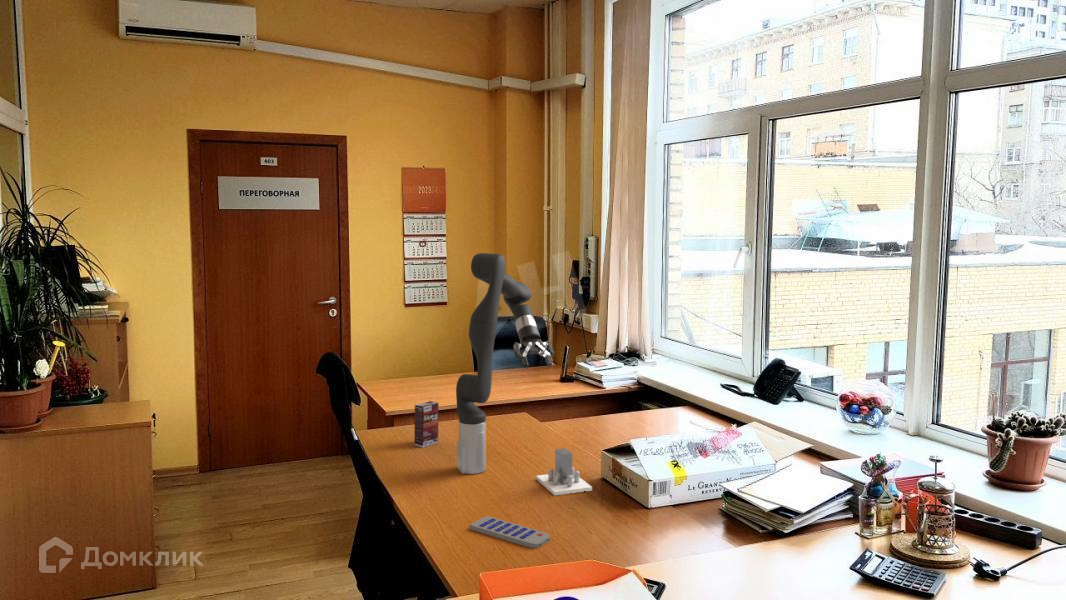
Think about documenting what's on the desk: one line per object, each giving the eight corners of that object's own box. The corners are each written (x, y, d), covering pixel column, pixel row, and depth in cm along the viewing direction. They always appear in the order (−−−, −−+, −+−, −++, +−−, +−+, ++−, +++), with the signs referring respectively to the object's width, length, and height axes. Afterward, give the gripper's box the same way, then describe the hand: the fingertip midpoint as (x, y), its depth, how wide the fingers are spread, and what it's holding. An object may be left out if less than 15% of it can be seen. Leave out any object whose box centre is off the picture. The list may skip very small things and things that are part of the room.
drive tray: (554, 495, 245) (554, 481, 244) (536, 479, 259) (536, 465, 259) (592, 490, 249) (592, 476, 249) (571, 474, 264) (572, 461, 263)
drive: (562, 485, 251) (562, 454, 250) (554, 478, 256) (555, 449, 255) (572, 483, 252) (572, 453, 251) (564, 477, 258) (565, 448, 257)
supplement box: (423, 448, 292) (422, 406, 290) (414, 445, 295) (413, 404, 293) (439, 442, 299) (439, 402, 297) (430, 440, 302) (430, 400, 300)
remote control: (486, 522, 225) (486, 514, 225) (552, 540, 212) (552, 533, 212) (469, 531, 218) (469, 523, 218) (535, 550, 206) (535, 542, 205)
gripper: (511, 325, 282) (522, 362, 272) (548, 323, 287) (559, 359, 278) (507, 337, 287) (517, 373, 278) (542, 335, 292) (554, 371, 283)
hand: (538, 366), depth 278 cm, fingers open, 8 cm apart
